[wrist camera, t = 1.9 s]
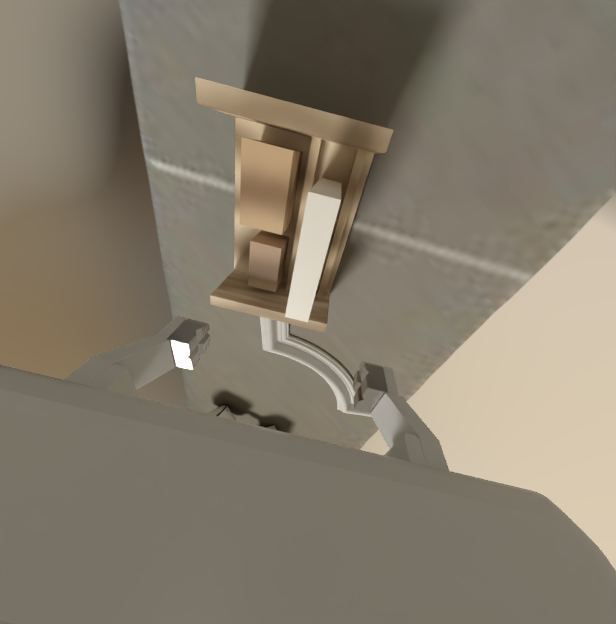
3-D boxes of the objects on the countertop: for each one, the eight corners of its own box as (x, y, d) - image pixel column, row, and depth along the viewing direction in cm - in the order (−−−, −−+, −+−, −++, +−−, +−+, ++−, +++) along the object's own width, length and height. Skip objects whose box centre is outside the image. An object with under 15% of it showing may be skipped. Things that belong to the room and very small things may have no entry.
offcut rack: (241, 101, 25) (195, 76, 17) (377, 138, 25) (393, 130, 17) (237, 274, 38) (210, 304, 30) (327, 296, 38) (324, 332, 30)
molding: (395, 406, 55) (398, 418, 52) (355, 419, 60) (355, 430, 58) (274, 290, 39) (270, 298, 37) (235, 322, 45) (229, 331, 42)
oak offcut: (260, 140, 25) (241, 137, 20) (302, 151, 25) (293, 150, 20) (256, 213, 30) (239, 224, 25) (291, 222, 30) (281, 235, 25)
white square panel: (321, 177, 27) (308, 191, 16) (341, 182, 27) (341, 200, 16) (302, 266, 34) (284, 316, 23) (318, 270, 34) (307, 322, 23)
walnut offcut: (262, 229, 31) (250, 240, 27) (289, 236, 31) (281, 248, 27) (258, 270, 35) (247, 285, 31) (283, 276, 35) (275, 292, 31)
